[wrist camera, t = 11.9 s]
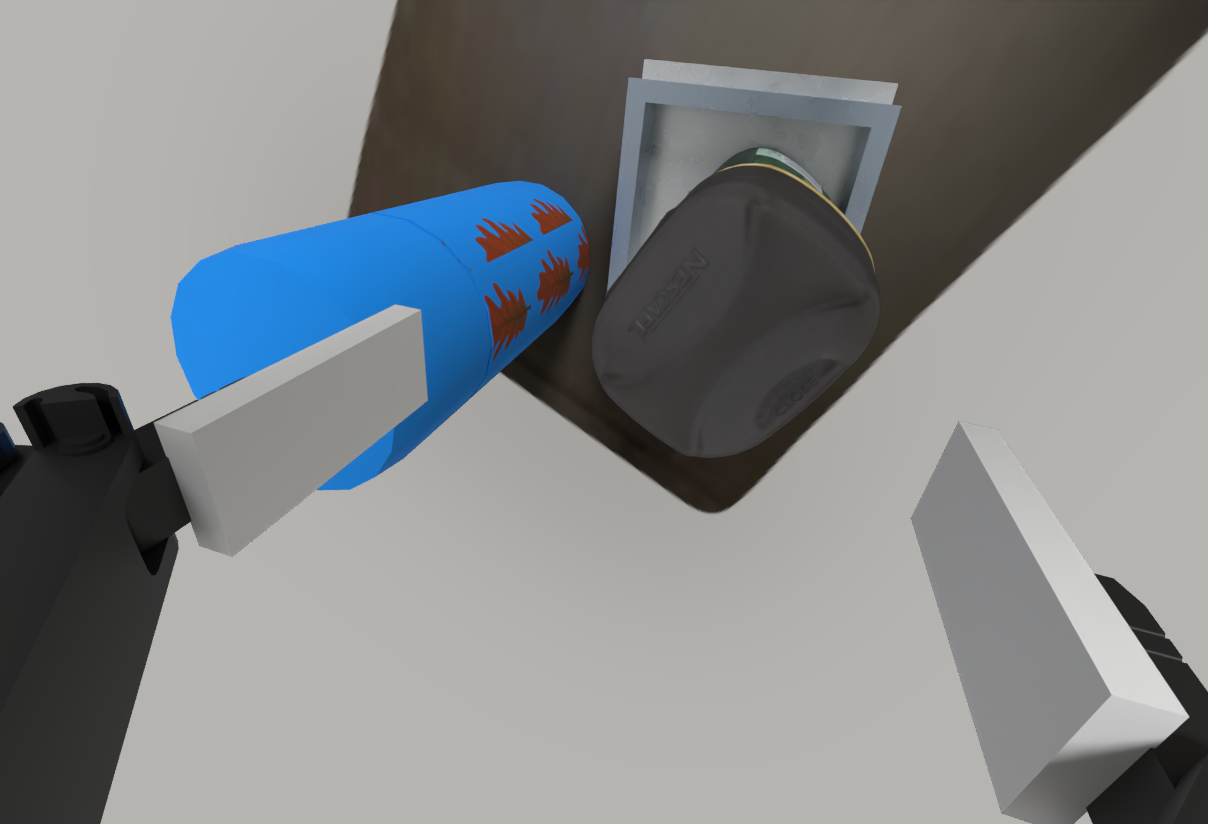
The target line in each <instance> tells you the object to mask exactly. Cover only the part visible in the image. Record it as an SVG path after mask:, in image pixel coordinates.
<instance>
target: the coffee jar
mask: <svg viewBox="0 0 1208 824" xmlns="http://www.w3.org/2000/svg"><path fill="white" fill-rule="evenodd" d="M879 314H880V290H879V284H878V280H877V277H876V274H875V272H874V264H873V260H872V256H871V254H870V251H869V249H868V247H867V245H866V244H865V242H864V240H863V238H862V237H861V235H860V234H859V232H858V231H857V230H856V228H855V227H854V226H853V225H852V223H851V222H850V221H849V220H848V219H847V217H846V216H845V215H844V214H843V213H842V212H841V211H840V210H839V209H838V208H837V207H836V206H835V205H834V204H833V203H832V202H831V200H830V198H829V197H828V195H827V193H826V192H825V191H824V190H823V188H822V187H821V186H820V185H819V184H818V182H817V181H816V180H815V179H814V178H813V177H812V176H811V175H810V174H809V173H808V172H807V171H806V170H805V169H803V168H802V167H801V166H800V165H798V164H797V163H795V162H794V161H793V160H791V159H790V158H788V157H786V156H785V155H783V154H781V153H779V152H777V151H775V150H771V149H767V148H751V149H747V150H744V151H741V152H739V153H737V154H735V155H734V156H732V157H731V158H729V159H728V160H727V161H726V162H724V163H723V164H722V165H721V166H720V167H719V168H718V169H717V170H716V171H715V172H714V173H713V174H712V175H711V176H709V177H707V178H706V179H705V180H703V181H702V182H700V183H699V184H698V185H697V186H696V187H695V188H694V189H692V190H691V191H690V192H689V193H688V195H687V196H686V197H685V198H684V199H683V200H682V201H681V202H680V203H679V204H678V205H677V206H676V207H675V208H673V209H671V210H669V211H668V212H667V213H666V214H665V215H664V217H663V218H662V219H661V221H660V222H659V224H658V225H657V226H656V228H655V229H654V231H653V232H652V233H651V235H650V236H649V237H648V239H647V240H646V241H645V242H644V244H643V245H642V246H641V248H640V249H639V250H638V252H637V253H636V254H635V256H634V257H633V259H632V260H631V261H630V263H629V264H628V265H627V266H626V268H625V269H624V270H623V272H622V273H621V274H620V275H619V277H618V278H617V279H616V281H615V282H614V283H613V284H612V286H611V287H610V288H609V290H608V291H607V292H606V294H605V299H604V305H603V307H602V309H601V310H600V312H599V315H598V317H597V320H596V323H595V326H594V330H593V335H592V345H591V346H592V358H593V364H594V367H595V370H596V373H597V376H598V378H599V380H600V383H601V385H602V387H603V390H604V391H605V392H606V394H607V395H608V396H609V397H610V398H611V399H612V400H613V401H614V402H615V403H616V404H617V405H618V406H619V407H620V408H621V409H622V410H623V411H624V412H626V413H627V414H628V415H629V416H630V417H631V418H632V419H633V420H635V421H636V422H637V423H638V424H640V425H641V426H642V427H643V428H645V429H646V430H647V431H649V432H650V433H651V434H653V435H654V436H655V437H657V438H658V439H660V440H661V441H662V442H664V443H665V444H667V445H668V446H670V447H671V448H673V449H675V450H676V451H678V452H679V453H681V454H683V455H686V456H696V457H704V458H716V457H724V456H730V455H735V454H738V453H741V452H744V451H746V450H749V449H751V448H753V447H754V446H756V445H758V444H760V443H761V442H763V441H764V440H766V439H767V438H768V437H769V436H771V435H772V434H773V433H775V432H776V431H777V430H779V429H780V428H781V427H783V426H784V425H785V424H787V423H788V422H789V421H790V420H792V419H793V418H794V417H795V416H797V415H798V414H799V413H801V412H802V411H803V410H804V409H805V408H807V407H808V406H809V405H810V404H811V403H812V402H813V401H815V400H816V399H817V398H818V397H819V396H820V395H821V394H822V393H823V392H824V391H825V390H826V389H827V388H828V387H829V386H831V385H832V384H833V383H834V382H835V381H836V380H837V379H838V378H839V377H840V376H841V375H842V373H843V372H844V371H846V370H847V369H848V368H849V367H850V366H851V365H852V364H853V363H854V362H855V361H856V360H857V359H858V358H859V357H860V356H861V354H862V353H863V352H864V350H865V349H866V348H867V346H868V344H869V343H870V341H871V339H872V337H873V335H874V332H875V330H876V327H877V324H878V321H879Z"/></svg>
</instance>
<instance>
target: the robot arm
mask: <svg viewBox="0 0 1208 824" xmlns="http://www.w3.org/2000/svg"><path fill="white" fill-rule="evenodd" d="M427 401H428V396H427V382H426V369H425V356H424V342H423V329H422V316H421V310H420V309H415V308H410V307H406V306H401V305H396V304H395V305H393V306H391V307H389V308H387V309H385V310H383V311H381V312H379V313H377V314H375V315H373V316H371V317H369V318H367V319H365V320H363V321H361V322H359V323H356V324H354V325H352V326H350V327H348V328H346V329H344V330H342V331H340V332H338V333H336V334H334V335H332V336H330V337H328V338H326V339H324V340H322V341H320V342H318V343H316V344H314V345H311V346H309V347H307V348H305V349H303V350H301V351H299V352H297V353H295V354H293V355H291V356H289V357H287V358H285V359H283V360H281V361H279V362H277V363H275V364H273V365H271V366H269V367H266V368H264V369H262V370H260V371H258V372H256V373H254V374H252V375H250V376H248V377H244V378H241V379H239V380H236V381H234V382H232V383H230V384H228V385H226V386H224V387H222V388H220V389H219V391H217V392H216V391H214V392H212V393H210V394H208V395H206V396H204V397H201V400H199V401H198V400H195V401H193V402H191V403H189V404H187V405H185V406H183V407H181V408H179V409H177V410H175V411H173V412H171V413H169V414H167V415H165V416H162V417H160V418H158V419H156V420H154V421H152V422H150V423H148V424H146V425H144V426H142V427H140V428H138V429H136V430H134V429H133V426H132V424H131V421H130V419H129V417H128V414H127V411H126V409H125V406H124V404H123V401H122V399H121V396H120V394H119V391H118V390H117V389H115V388H114V387H113V386H111V385H106V384H101V383H79V384H72V385H65V386H59V387H55V388H52V389H48V390H44V391H41V392H38V393H36V394H34V395H31V396H29V397H26V398H24V399H22V400H21V401H20V402H18V403H17V404H15V405H14V406H13V409H14V411H15V413H16V415H17V417H18V418H19V420H20V422H21V424H22V426H23V428H24V430H25V432H26V434H27V436H28V438H29V440H30V442H31V444H32V446H28V445H15V444H14V443H13V441H12V439H11V437H10V435H9V433H8V431H7V429H6V428H5V426H4V424H3V423H1V422H0V824H100V823H101V819H102V816H103V812H104V809H105V805H106V801H107V798H108V795H109V791H110V788H111V784H112V781H113V777H114V774H115V770H116V767H117V763H118V760H119V755H120V752H121V749H122V745H123V742H124V738H125V735H126V731H127V728H128V724H129V721H130V717H131V714H132V710H133V707H134V703H135V700H136V696H137V693H138V689H139V686H140V682H141V679H142V675H143V672H144V668H145V665H146V661H147V658H148V654H149V651H150V647H151V643H152V640H153V636H154V633H155V630H156V626H157V623H158V619H159V616H160V612H161V609H162V605H163V602H164V598H165V595H166V591H167V588H168V584H169V580H170V577H171V574H172V570H173V566H174V563H175V560H176V556H177V553H178V540H177V537H176V535H175V532H176V531H178V530H179V529H180V528H182V527H183V526H185V525H186V524H188V523H189V522H191V524H192V527H193V530H194V532H195V535H196V538H197V541H198V543H199V546H201V547H204V548H208V549H210V550H213V551H216V552H219V553H222V554H225V555H228V556H231V557H233V556H234V555H236V554H237V553H238V552H239V551H241V550H242V549H243V548H244V547H245V546H247V545H248V544H249V543H250V542H252V541H253V540H254V539H255V538H257V537H258V536H259V535H260V534H262V533H263V532H264V531H265V530H267V529H268V528H269V527H270V526H272V525H273V524H274V523H275V522H277V521H278V520H279V519H280V518H282V517H283V516H284V515H285V514H287V513H288V512H289V511H290V510H291V509H293V508H294V507H295V506H297V505H298V504H299V503H300V502H302V501H303V500H304V499H305V498H307V497H308V496H309V495H310V494H312V493H313V492H314V491H315V490H317V489H318V488H319V487H320V486H322V485H323V484H324V483H325V482H327V481H328V480H329V479H330V478H332V477H333V476H334V475H335V474H337V473H338V472H339V471H340V470H342V469H343V468H344V467H345V466H347V465H348V464H349V463H350V462H352V461H353V460H354V459H355V458H357V457H358V456H359V455H360V454H362V453H363V452H364V451H365V450H367V449H368V448H369V447H370V446H372V445H373V444H374V443H375V442H377V441H378V440H379V439H380V438H382V437H383V436H384V435H385V434H387V433H388V432H389V431H390V430H392V429H393V428H394V427H395V426H397V425H398V424H399V423H400V422H402V421H403V420H404V419H405V418H407V417H408V416H409V415H410V414H412V413H413V412H414V411H415V410H417V409H418V408H419V407H420V406H422V405H423V404H424V403H425V402H427ZM911 519H912V523H913V526H914V529H915V533H916V536H917V539H918V542H919V546H920V549H921V552H922V556H923V558H924V562H925V565H926V569H927V572H928V575H929V578H930V582H931V585H932V588H933V591H934V594H935V598H936V601H937V604H938V607H939V611H940V614H941V617H942V620H943V624H944V627H945V630H946V633H947V637H948V640H949V643H950V647H951V650H952V653H953V656H954V660H955V663H956V666H957V670H958V673H959V676H960V679H961V683H962V686H963V689H964V692H965V696H966V699H967V702H968V705H969V709H970V712H971V715H972V718H973V722H974V725H975V728H976V732H977V735H978V738H979V741H980V745H981V748H982V751H983V754H984V758H985V761H986V764H987V767H988V770H989V774H990V777H991V781H992V784H993V787H994V790H995V794H996V797H997V800H998V803H999V807H1000V810H1001V813H1002V814H1006V815H1008V816H1011V817H1014V818H1017V819H1020V820H1023V821H1026V822H1029V823H1032V824H1074V823H1075V822H1076V821H1077V820H1078V819H1079V818H1080V817H1081V816H1082V815H1084V814H1085V813H1086V812H1087V811H1088V813H1089V816H1090V818H1091V821H1092V823H1093V824H1208V692H1207V690H1206V689H1205V688H1204V686H1203V685H1202V683H1201V682H1200V681H1199V679H1198V678H1197V677H1196V675H1195V674H1194V672H1193V671H1192V670H1191V668H1190V667H1189V666H1188V664H1187V663H1183V662H1182V656H1181V655H1180V653H1179V652H1178V650H1177V649H1176V648H1175V646H1174V645H1173V643H1172V642H1171V641H1170V639H1166V638H1165V633H1164V631H1163V630H1162V628H1161V627H1160V626H1159V624H1158V623H1157V621H1156V620H1155V619H1154V617H1153V616H1152V615H1151V613H1150V612H1149V610H1148V609H1147V608H1146V606H1145V605H1144V604H1143V603H1141V602H1140V601H1139V600H1138V599H1137V598H1136V597H1134V596H1133V595H1132V594H1131V593H1130V592H1129V591H1127V590H1126V589H1125V588H1124V587H1123V586H1121V584H1119V583H1118V582H1117V581H1116V580H1115V579H1113V578H1109V577H1106V576H1102V575H1098V574H1094V573H1093V572H1092V570H1091V569H1090V567H1089V566H1088V564H1087V563H1086V561H1085V560H1084V558H1083V557H1082V555H1081V554H1080V552H1079V551H1078V549H1077V548H1076V546H1075V545H1074V543H1073V542H1072V540H1071V539H1070V537H1069V536H1068V534H1067V533H1066V531H1065V530H1064V528H1063V527H1062V525H1061V524H1060V522H1059V521H1058V519H1057V518H1056V516H1055V515H1054V513H1053V512H1052V510H1051V509H1050V507H1049V506H1048V504H1047V503H1046V501H1045V500H1044V498H1043V497H1042V495H1041V494H1040V492H1039V491H1038V489H1037V488H1036V486H1035V485H1034V483H1033V482H1032V480H1031V479H1030V477H1029V476H1028V474H1027V473H1026V471H1025V470H1024V468H1023V467H1022V465H1021V464H1020V462H1019V461H1018V459H1017V458H1016V456H1015V455H1014V453H1013V452H1012V450H1011V449H1010V447H1009V446H1008V444H1007V443H1006V441H1005V440H1004V438H1003V437H1002V435H1001V434H1000V432H999V431H998V430H997V429H994V428H989V427H984V426H980V425H975V424H970V423H965V422H960V421H959V422H958V424H957V426H956V428H955V430H954V432H953V434H952V436H951V438H950V440H949V442H948V444H947V446H946V448H945V450H944V453H943V454H942V456H941V459H940V460H939V463H938V465H937V467H936V469H935V471H934V473H933V475H932V477H931V479H930V481H929V483H928V485H927V487H926V489H925V491H924V493H923V495H922V497H921V499H920V501H919V503H918V505H917V507H916V509H915V511H914V513H913V515H912V517H911Z"/></svg>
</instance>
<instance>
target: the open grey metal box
mask: <svg viewBox="0 0 1208 824" xmlns="http://www.w3.org/2000/svg"><path fill="white" fill-rule="evenodd" d="M897 87H898V84H897V83H887V82H877V81H866V80H856V79H846V78H835V77H825V76H815V75H804V74H794V73H784V72H773V71H763V70H753V69H742V68H732V67H722V66H711V65H701V64H691V63H680V62H670V61H660V60H649V59H644V67H643V75H642V79H640V78H630V77H629V80H628V90H627V100H626V110H625V119H624V129H623V139H622V149H621V159H620V169H619V179H618V188H617V198H616V208H615V218H614V228H613V238H612V247H611V257H610V267H609V277H608V287H607V291H608V290H609V288H610V287H611V286H612V284H613V283H614V282H615V281H616V279H617V278H618V277H619V275H620V274H621V273H622V272H623V270H624V269H625V268H626V266H627V265H628V264H629V263H630V261H631V260H632V259H633V257H634V256H635V254H636V253H637V252H638V250H639V249H640V248H641V246H642V245H643V244H644V242H645V241H646V240H647V239H648V237H649V236H650V235H651V233H652V232H653V231H654V229H655V228H656V226H657V225H658V224H659V222H660V221H661V219H662V218H663V217H664V215H665V214H666V213H667V212H668V211H669V210H671V209H673V208H675V207H676V206H677V205H678V204H679V203H680V202H681V201H682V200H683V199H684V198H685V197H686V196H687V195H688V193H689V192H690V191H691V190H692V189H694V188H695V187H696V186H697V185H698V184H699V183H700V182H702V181H703V180H705V179H706V178H707V177H709V176H711V175H712V174H713V173H714V172H715V171H716V170H717V169H718V168H719V167H720V166H721V165H722V164H723V163H724V162H726V161H727V160H728V159H729V158H731V157H732V156H734V155H735V154H737V153H739V152H741V151H744V150H747V149H751V148H767V149H771V150H775V151H777V152H779V153H781V154H783V155H785V156H786V157H788V158H790V159H791V160H793V161H794V162H795V163H797V164H798V165H800V166H801V167H802V168H803V169H805V170H806V171H807V172H808V173H809V174H810V175H811V176H812V177H813V178H814V179H815V180H816V181H817V182H818V184H819V185H820V186H821V187H822V188H823V190H824V191H825V192H826V193H827V195H828V197H829V198H830V200H831V202H832V203H833V204H834V205H835V206H836V207H837V208H838V209H839V210H840V211H841V212H842V213H843V214H844V215H845V216H846V217H847V219H848V220H849V221H850V222H851V223H852V225H853V226H854V227H855V228H856V230H857V231H858V232H859V234H861V231H862V228H863V225H864V221H865V218H866V215H867V212H868V209H869V206H870V203H871V200H872V197H873V194H874V190H875V187H876V184H877V181H878V178H879V175H880V172H881V169H882V166H883V162H884V159H885V156H886V153H887V150H888V147H889V144H890V141H891V138H892V135H893V131H894V128H895V125H896V122H897V119H898V116H899V113H900V110H901V107H902V106H899V105H892V102H893V99H894V96H895V93H896V90H897Z"/></svg>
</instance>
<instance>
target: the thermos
mask: <svg viewBox="0 0 1208 824" xmlns="http://www.w3.org/2000/svg"><path fill="white" fill-rule="evenodd" d="M589 269H590V248H589V239H588V237H587V234H586V232H585V229H584V227H583V224H582V222H581V219H580V217H579V216H578V215H577V213H576V212H575V211H574V210H573V208H572V207H571V206H570V205H569V204H568V202H567V201H566V200H565V199H564V198H563V197H562V196H560V195H558V194H557V193H555V192H553V191H552V190H550V189H549V188H547V187H545V186H544V185H541V184H535V183H529V182H524V181H513V182H503V183H495V184H491V185H487V186H482V187H478V188H474V189H470V190H466V191H461V192H457V193H453V194H449V195H445V196H441V197H436V198H432V199H428V200H424V201H420V202H415V203H411V204H407V205H403V206H399V207H394V208H390V209H386V210H382V211H378V212H374V213H369V214H365V215H361V216H357V217H353V218H348V219H344V220H340V221H336V222H332V223H328V224H323V225H319V226H315V227H311V228H307V229H302V230H298V231H294V232H290V233H286V234H281V235H277V236H273V237H269V238H265V239H261V240H257V241H253V242H248V243H244V244H240V245H236V246H234V247H231V248H229V249H227V250H224V251H222V252H219V253H217V254H215V255H212V256H210V257H207V258H205V259H202V260H200V261H199V262H198V263H197V264H196V265H195V266H194V268H193V269H192V270H191V271H190V272H189V273H188V274H187V275H186V276H185V277H184V278H183V279H182V280H181V281H180V282H179V284H178V287H177V292H176V296H175V301H174V305H173V309H172V314H171V322H172V328H173V335H174V341H175V348H176V355H177V357H178V360H179V362H180V364H181V366H182V369H183V371H184V373H185V376H186V378H187V380H188V382H189V385H190V387H191V389H192V391H193V393H194V395H195V397H196V398H197V399H198V401H199V400H201V397H204V396H206V395H208V394H210V393H212V392H214V391H216V392H217V391H219V389H220V388H222V387H224V386H226V385H228V384H230V383H232V382H234V381H236V380H239V379H241V378H244V377H248V376H250V375H252V374H254V373H256V372H258V371H260V370H262V369H264V368H266V367H269V366H271V365H273V364H275V363H277V362H279V361H281V360H283V359H285V358H287V357H289V356H291V355H293V354H295V353H297V352H299V351H301V350H303V349H305V348H307V347H309V346H311V345H314V344H316V343H318V342H320V341H322V340H324V339H326V338H328V337H330V336H332V335H334V334H336V333H338V332H340V331H342V330H344V329H346V328H348V327H350V326H352V325H354V324H356V323H359V322H361V321H363V320H365V319H367V318H369V317H371V316H373V315H375V314H377V313H379V312H381V311H383V310H385V309H387V308H389V307H391V306H393V305H395V304H396V305H401V306H406V307H410V308H415V309H420V310H421V316H422V329H423V342H424V356H425V369H426V382H427V396H428V401H427V402H425V403H424V404H423V405H422V406H420V407H419V408H418V409H417V410H415V411H414V412H413V413H412V414H410V415H409V416H408V417H407V418H405V419H404V420H403V421H402V422H400V423H399V424H398V425H397V426H395V427H394V428H393V429H392V430H390V431H389V432H388V433H387V434H385V435H384V436H383V437H382V438H380V439H379V440H378V441H377V442H375V443H374V444H373V445H372V446H370V447H369V448H368V449H367V450H365V451H364V452H363V453H362V454H360V455H359V456H358V457H357V458H355V459H354V460H353V461H352V462H350V463H349V464H348V465H347V466H345V467H344V468H343V469H342V470H340V471H339V472H338V473H337V474H335V475H334V476H333V477H332V478H330V479H329V480H328V481H327V482H325V483H324V484H323V485H322V486H320V487H319V488H318V489H317V490H346V489H347V490H350V489H352V488H354V487H356V486H358V485H360V484H362V483H364V482H366V481H368V480H370V479H372V478H374V477H375V476H377V475H379V474H380V473H382V472H383V471H385V470H386V469H388V468H390V467H391V466H393V465H394V464H396V463H397V462H399V461H400V460H402V459H403V458H405V456H407V455H408V454H409V453H410V452H411V451H412V450H413V449H415V448H416V447H417V446H418V445H419V444H420V443H421V442H422V441H423V440H425V439H426V438H427V437H428V436H429V435H430V434H431V433H432V432H433V431H435V430H436V429H437V428H438V427H439V426H440V425H441V424H442V423H443V422H444V421H445V420H447V419H448V418H449V417H450V416H451V415H452V414H453V413H455V412H456V411H457V410H458V409H459V408H460V407H461V406H462V405H463V404H465V403H466V402H467V401H468V400H469V399H470V398H471V397H472V396H473V395H475V394H476V393H477V392H478V391H479V390H480V389H481V388H482V387H483V386H485V385H486V384H487V383H488V382H489V381H490V380H491V379H492V378H493V377H495V376H496V375H497V374H498V373H499V372H500V371H501V370H502V369H503V368H505V367H506V366H507V365H508V364H509V363H510V362H511V361H512V360H513V359H515V358H516V357H517V356H518V355H519V354H520V353H521V352H522V351H523V350H525V349H526V348H527V347H528V346H529V345H530V344H531V343H532V342H533V341H535V340H536V339H537V338H538V337H539V336H540V335H541V334H542V333H543V332H545V331H546V330H547V329H548V328H549V327H550V326H551V325H552V324H553V323H555V322H556V321H557V320H558V318H559V317H560V316H561V315H562V314H563V313H564V312H565V310H566V309H567V308H568V307H569V306H570V305H571V304H572V302H573V301H574V300H575V298H576V297H577V296H578V294H579V293H580V292H581V290H582V289H583V288H584V286H585V282H586V279H587V276H588V272H589Z"/></svg>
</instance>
